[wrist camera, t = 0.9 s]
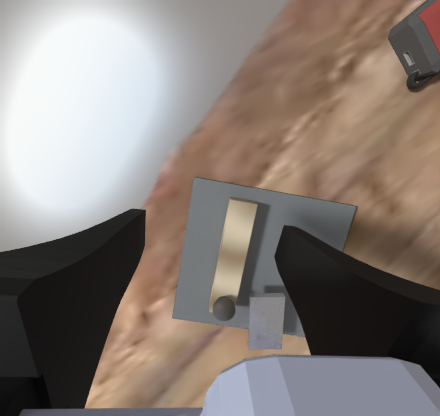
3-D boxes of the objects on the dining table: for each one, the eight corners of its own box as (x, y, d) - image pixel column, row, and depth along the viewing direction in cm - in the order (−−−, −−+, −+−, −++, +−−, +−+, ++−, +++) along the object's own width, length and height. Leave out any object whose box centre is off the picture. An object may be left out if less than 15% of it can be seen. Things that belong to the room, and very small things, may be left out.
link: (232, 304, 28) (234, 324, 25) (209, 301, 28) (208, 320, 25) (254, 201, 26) (260, 207, 22) (229, 196, 25) (231, 202, 22)
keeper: (244, 327, 29) (248, 349, 26) (246, 281, 28) (250, 297, 24) (273, 327, 29) (281, 349, 26) (276, 280, 28) (285, 297, 25)
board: (312, 332, 31) (315, 338, 30) (173, 313, 30) (172, 318, 29) (351, 204, 27) (356, 206, 26) (194, 176, 26) (193, 177, 25)
